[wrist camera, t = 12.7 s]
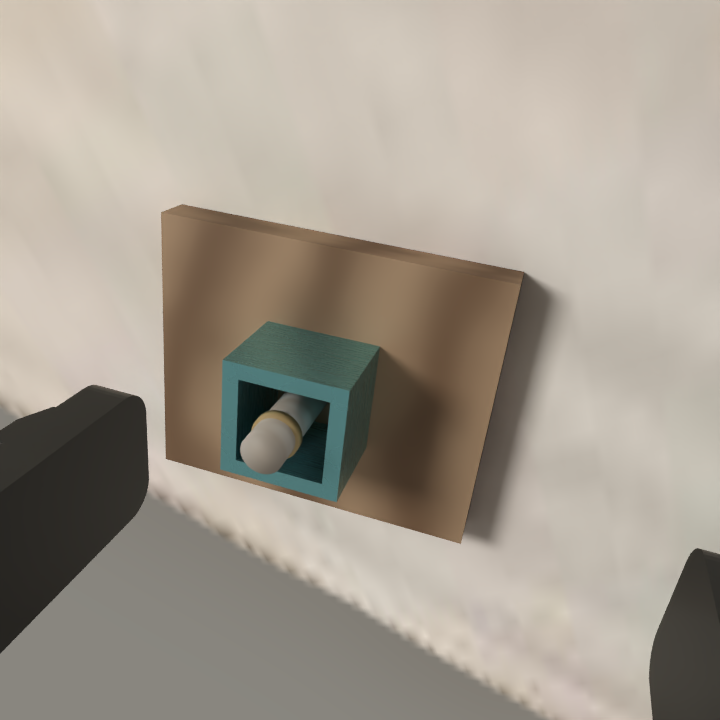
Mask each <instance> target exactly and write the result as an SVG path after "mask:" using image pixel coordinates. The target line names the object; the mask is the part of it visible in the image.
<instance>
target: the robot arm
mask: <svg viewBox="0 0 720 720" xmlns="http://www.w3.org/2000/svg"><path fill="white" fill-rule="evenodd" d="M148 482H149V470H148V447H147V423H146V408H145V404H144V402H143V400H142V399H141V398H140V397H138V396H135V395H131V394H127V393H124V392H120V391H116V390H113V389H109V388H105V387H101V386H98V385H91V386H88V387H86V388H84V389H83V390H81V391H80V392H78V393H77V394H75V395H74V396H72V397H71V398H69V399H68V400H66V401H65V402H63V403H62V404H60V405H59V406H57V407H51V408H49V409H46V410H43V411H40V412H37V413H34V414H31V415H29V416H26V417H23V418H20V419H17V420H16V421H14V422H13V423H11V424H10V425H8V426H7V427H5V428H3V429H2V430H0V653H1V652H2V651H3V650H4V649H5V648H6V647H7V646H8V645H9V644H10V643H11V642H12V641H13V640H14V639H15V638H16V637H17V636H18V635H19V634H20V633H21V632H22V631H23V630H24V628H25V627H27V626H28V625H29V624H30V623H31V622H32V620H33V619H35V617H36V616H37V615H38V614H39V613H40V612H41V611H42V610H43V609H44V608H45V607H46V606H47V605H48V604H49V603H50V602H51V601H52V600H53V599H54V598H55V597H56V596H57V595H58V594H59V593H60V592H61V591H62V590H63V589H64V588H65V587H66V586H67V585H68V584H69V583H70V582H71V581H72V580H73V579H74V578H75V577H76V576H77V575H78V574H79V573H80V572H81V571H82V569H84V567H86V566H87V564H88V563H89V562H90V561H91V560H92V559H93V558H94V557H95V556H96V555H97V554H98V553H99V552H100V551H101V550H102V549H103V548H104V547H105V546H106V545H107V544H108V543H109V542H110V541H111V540H112V539H113V538H114V537H115V536H116V535H117V534H118V533H119V532H120V531H121V530H122V529H123V528H124V527H125V526H126V525H127V524H128V523H129V522H130V521H131V519H133V517H134V516H135V515H136V514H137V512H138V511H139V509H140V507H141V505H142V503H143V501H144V498H145V496H146V493H147V489H148ZM649 683H650V694H651V705H652V716H653V720H720V554H717V553H713V552H710V551H706V550H702V549H698V548H697V549H695V550H694V551H693V552H692V553H691V554H690V556H689V557H688V559H687V562H686V564H685V566H684V569H683V571H682V573H681V576H680V578H679V580H678V583H677V585H676V588H675V590H674V592H673V595H672V597H671V599H670V602H669V604H668V607H667V609H666V611H665V614H664V616H663V618H662V621H661V623H660V625H659V628H658V630H657V633H656V636H655V639H654V643H653V647H652V652H651V659H650V669H649Z"/></svg>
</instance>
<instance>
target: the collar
mask: <svg viewBox="0 0 720 720" xmlns="http://www.w3.org/2000/svg"><path fill="white" fill-rule="evenodd" d="M379 351H380V346H376V345H371V344H367V343H363V342H358V341H354V340H349V339H345V338H341V337H336V336H332V335H327V334H323V333H319V332H314V331H310V330H305V329H301V328H297V327H292V326H288V325H283V324H279V323H275V322H270V321H267V322H266V323H265V324H264V325H263V326H261V327H260V328H259V329H258V330H257V331H256V332H254V333H253V334H252V335H251V336H250V337H249V338H247V339H246V340H245V341H244V342H243V343H242V344H240V345H239V346H238V347H237V348H236V349H235V350H233V351H232V352H231V353H230V354H229V355H228V356H226V357H225V358H224V359H223V360H222V409H221V459H220V470H224V471H227V472H231V473H235V474H238V475H242V476H245V477H249V478H252V479H256V480H259V481H263V482H266V483H270V484H273V485H277V486H281V487H284V488H288V489H291V490H295V491H298V492H302V493H305V494H309V495H312V496H316V497H319V498H323V499H326V500H330V501H334V502H337V501H338V499H339V497H340V495H341V493H342V491H343V490H344V488H345V486H346V484H347V482H348V480H349V479H350V477H351V475H352V473H353V471H354V469H355V468H356V466H357V464H358V462H359V460H360V458H361V457H362V455H363V453H364V451H365V449H366V447H367V439H368V432H369V425H370V417H371V410H372V402H373V395H374V388H375V380H376V373H377V366H378V358H379ZM278 390H282V391H286V392H290V393H294V394H298V395H302V396H306V397H310V398H314V399H318V400H322V401H326V402H330V411H329V421H328V425H327V424H323V423H319V422H316V421H314V422H313V424H312V425H311V426H310V428H309V429H308V430H307V432H306V433H305V435H304V436H303V439H302V443H301V445H300V447H299V448H298V450H297V451H296V453H295V454H294V455H293V456H292V457H290V458H288V459H286V461H285V462H284V464H283V465H282V466H281V468H280V469H279V470H278V471H277V472H275V473H273V474H261V473H258V472H255V471H254V470H252V469H251V468H249V467H248V466H247V465H246V463H245V462H244V460H243V459H242V456H241V452H240V447H241V443H242V441H243V440H244V439H245V438H246V437H247V435H248V434H249V433H250V432H251V431H252V426H253V424H254V422H255V421H256V420H257V419H258V418H259V417H260V416H261V414H263V413H264V412H266V411H269V410H270V409H271V408H272V407H273V406H274V404H275V403H276V402H277V401H278Z"/></svg>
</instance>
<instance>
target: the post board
mask: <svg viewBox="0 0 720 720" xmlns="http://www.w3.org/2000/svg"><path fill="white" fill-rule="evenodd" d="M161 226H162V278H163V331H164V383H165V435H166V459H168V460H172V461H175V462H179V463H182V464H186V465H189V466H193V467H196V468H200V469H203V470H207V471H210V472H214V473H217V474H221V475H224V476H227V477H231V478H234V479H238V480H241V481H245V482H248V483H252V484H255V485H259V486H262V487H266V488H269V489H273V490H276V491H280V492H283V493H286V494H290V495H293V496H297V497H300V498H304V499H307V500H311V501H314V502H318V503H321V504H325V505H328V506H332V507H335V508H339V509H342V510H345V511H349V512H352V513H356V514H359V515H363V516H366V517H370V518H373V519H377V520H380V521H384V522H387V523H391V524H394V525H398V526H401V527H404V528H408V529H411V530H415V531H418V532H422V533H425V534H429V535H432V536H436V537H439V538H443V539H446V540H450V541H453V542H457V543H460V544H461V540H462V536H463V532H464V528H465V524H466V520H467V515H468V511H469V507H470V503H471V498H472V494H473V490H474V485H475V481H476V477H477V473H478V468H479V464H480V460H481V455H482V451H483V447H484V442H485V438H486V434H487V430H488V425H489V421H490V417H491V412H492V408H493V404H494V400H495V395H496V391H497V387H498V382H499V378H500V374H501V370H502V365H503V361H504V357H505V352H506V348H507V344H508V340H509V335H510V331H511V327H512V322H513V318H514V314H515V309H516V305H517V301H518V297H519V292H520V288H521V284H522V279H523V275H524V272H521V271H516V270H511V269H506V268H501V267H496V266H491V265H486V264H481V263H476V262H471V261H465V260H460V259H455V258H450V257H445V256H440V255H435V254H430V253H425V252H420V251H415V250H410V249H405V248H400V247H395V246H390V245H384V244H379V243H374V242H369V241H364V240H359V239H354V238H349V237H344V236H339V235H334V234H329V233H324V232H319V231H314V230H309V229H304V228H298V227H293V226H288V225H283V224H278V223H273V222H268V221H263V220H258V219H253V218H248V217H243V216H238V215H233V214H228V213H223V212H217V211H212V210H207V209H202V208H197V207H192V206H187V205H179V206H177V207H174V208H171V209H169V210H166V211H164V212H161ZM267 321H270V322H275V323H279V324H283V325H288V326H292V327H297V328H301V329H305V330H310V331H314V332H319V333H323V334H327V335H332V336H336V337H341V338H345V339H349V340H354V341H358V342H363V343H367V344H371V345H376V346H380V351H379V358H378V366H377V373H376V380H375V388H374V395H373V402H372V410H371V417H370V425H369V432H368V439H367V447H366V449H365V451H364V453H363V455H362V457H361V458H360V460H359V462H358V464H357V466H356V468H355V469H354V471H353V473H352V475H351V477H350V479H349V480H348V482H347V484H346V486H345V488H344V490H343V491H342V493H341V495H340V497H339V499H338V501H337V502H334V501H330V500H326V499H323V498H319V497H316V496H312V495H309V494H305V493H302V492H298V491H295V490H291V489H288V488H284V487H281V486H277V485H273V484H270V483H266V482H263V481H259V480H256V479H252V478H249V477H245V476H242V475H238V474H235V473H231V472H227V471H224V470H220V459H221V409H222V360H223V359H224V358H225V357H226V356H228V355H229V354H230V353H231V352H232V351H233V350H235V349H236V348H237V347H238V346H239V345H240V344H242V343H243V342H244V341H245V340H246V339H247V338H249V337H250V336H251V335H252V334H253V333H254V332H256V331H257V330H258V329H259V328H260V327H261V326H263V325H264V324H265V323H266V322H267ZM329 411H330V402H326V401H322V400H318V399H314V398H310V397H306V396H302V395H298V394H294V393H290V392H286V391H282V390H278V401H277V402H276V403H275V404H274V406H273V407H272V408H271V409H270V410H269V411H266V412H264V413H263V414H261V416H260V417H259V418H258V419H257V420H256V421H255V422H254V424H253V426H252V431H251V432H250V433H249V434H248V435H247V437H246V438H245V439H244V440H243V441H242V443H241V447H240V452H241V456H242V459H243V460H244V462H245V463H246V465H247V466H248V467H249V468H251V469H252V470H254V471H255V472H258V473H261V474H273V473H275V472H277V471H278V470H279V469H280V468H281V466H282V465H283V464H284V462H285V461H286V459H288V458H290V457H292V456H293V455H294V454H295V453H296V451H297V450H298V448H299V447H300V445H301V443H302V439H303V436H304V435H305V433H306V432H307V430H308V429H309V428H310V426H311V425H312V424H313V422H314V421H316V422H319V423H323V424H327V425H328V421H329Z"/></svg>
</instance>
